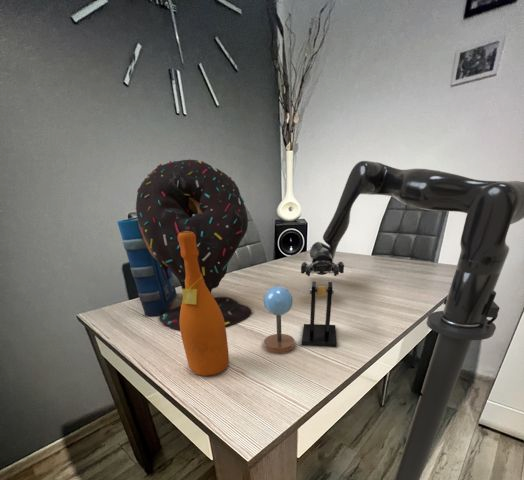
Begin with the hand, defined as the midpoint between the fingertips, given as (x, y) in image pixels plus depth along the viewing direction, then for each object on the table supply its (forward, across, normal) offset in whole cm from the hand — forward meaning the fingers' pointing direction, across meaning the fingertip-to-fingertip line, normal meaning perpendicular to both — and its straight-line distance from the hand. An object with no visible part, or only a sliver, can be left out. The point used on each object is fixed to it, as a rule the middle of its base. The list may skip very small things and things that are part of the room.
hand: (322, 273), depth 88 cm
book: (0, -59, +12) cm, 61 cm away
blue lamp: (+28, -10, +12) cm, 32 cm away
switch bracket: (+22, 0, +12) cm, 25 cm away
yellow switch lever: (+17, 0, +2) cm, 17 cm away
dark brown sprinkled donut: (+7, -39, +12) cm, 41 cm away
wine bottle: (+40, -26, +12) cm, 49 cm away
